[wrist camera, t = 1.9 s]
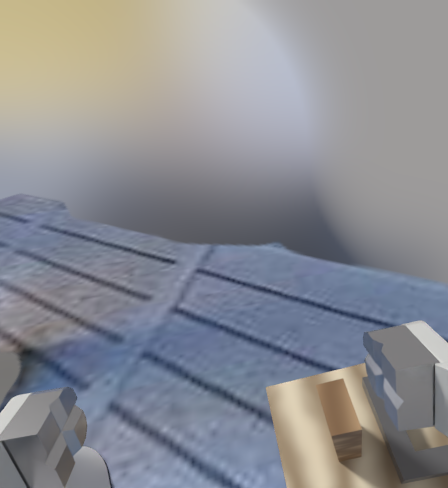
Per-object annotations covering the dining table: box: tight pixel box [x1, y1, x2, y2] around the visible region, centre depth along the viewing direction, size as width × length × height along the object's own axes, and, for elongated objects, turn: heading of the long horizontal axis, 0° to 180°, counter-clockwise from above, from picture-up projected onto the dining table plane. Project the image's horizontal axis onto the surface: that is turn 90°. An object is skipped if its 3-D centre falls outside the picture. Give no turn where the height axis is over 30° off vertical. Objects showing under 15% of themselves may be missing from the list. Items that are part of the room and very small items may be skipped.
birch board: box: [266, 363, 448, 488], centre depth 46 cm, size 28×18×1 cm, turn 98°
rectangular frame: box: [362, 376, 448, 484], centre depth 44 cm, size 10×12×4 cm
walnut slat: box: [316, 378, 362, 462], centre depth 41 cm, size 3×5×16 cm, turn 8°
